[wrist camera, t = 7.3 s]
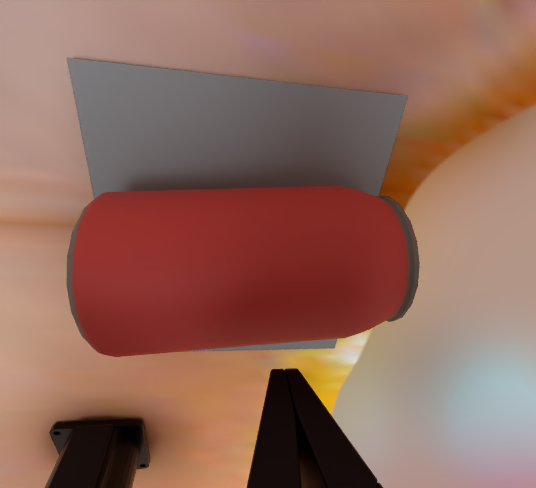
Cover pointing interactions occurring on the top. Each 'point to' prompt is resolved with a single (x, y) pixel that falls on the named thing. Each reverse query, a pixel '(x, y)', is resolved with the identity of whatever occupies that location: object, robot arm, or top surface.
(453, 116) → the top surface
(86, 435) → the robot arm
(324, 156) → the mat
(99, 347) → the beer can
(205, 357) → the top surface
